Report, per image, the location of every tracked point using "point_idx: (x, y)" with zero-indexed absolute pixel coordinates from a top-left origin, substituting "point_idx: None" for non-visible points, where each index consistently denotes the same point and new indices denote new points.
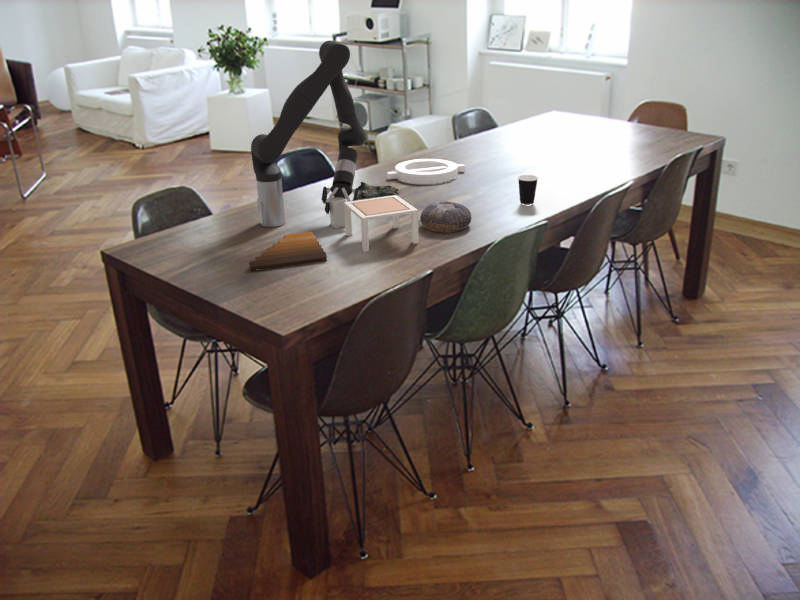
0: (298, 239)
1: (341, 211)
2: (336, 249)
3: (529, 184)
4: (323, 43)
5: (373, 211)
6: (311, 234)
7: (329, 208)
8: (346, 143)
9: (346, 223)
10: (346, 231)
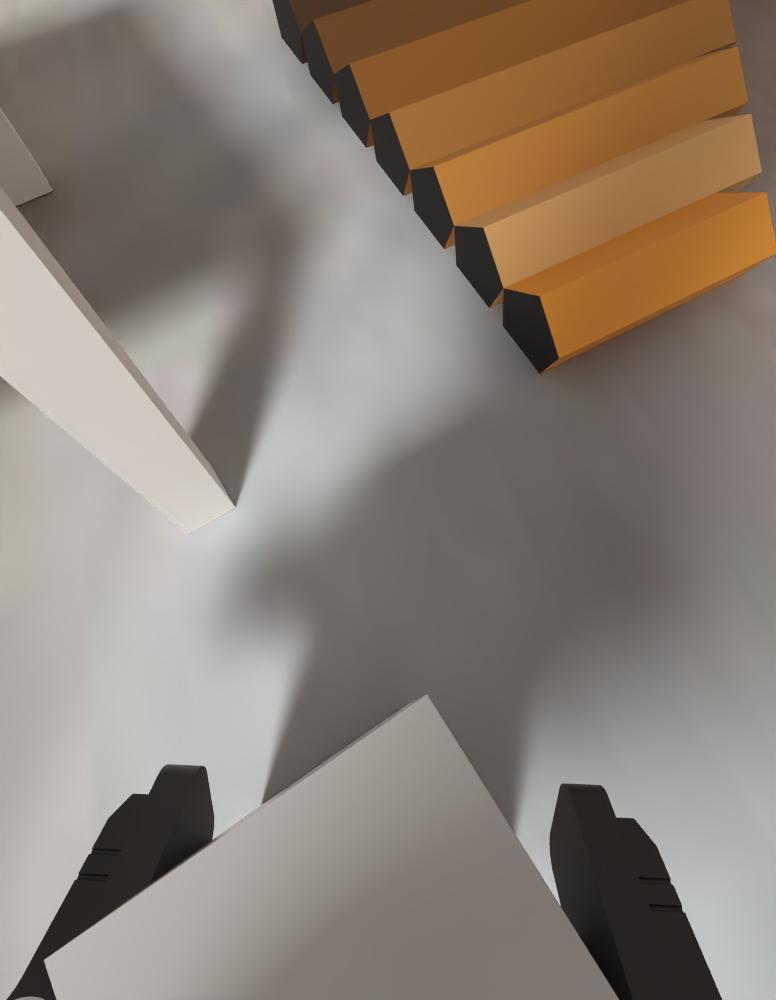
0: (595, 172)
1: (280, 793)
2: (255, 185)
3: None
4: None
5: None
6: (532, 285)
7: None
8: None
9: (161, 402)
10: (208, 464)
